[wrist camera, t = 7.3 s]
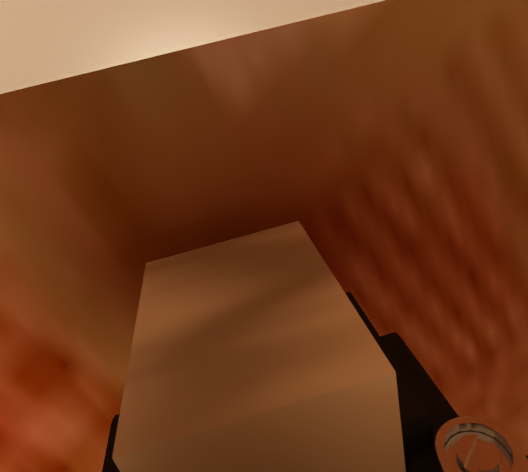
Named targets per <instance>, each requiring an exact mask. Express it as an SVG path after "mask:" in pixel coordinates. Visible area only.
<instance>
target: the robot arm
mask: <svg viewBox="0 0 528 472" xmlns="http://www.w3.org/2000/svg"><path fill="white" fill-rule="evenodd" d="M345 294H346V295H347V297H348V298H349V300H350V302H351V303H352V305H353V306H354V308H355V309H356V311H357V312H358V314H359V316H360V317H361V319H362V320H363V322H364V323H365V325H366V326H367V328H368V330H369V331H370V333H371V334H372V336H373V337H374V339H375V341H376V342H377V344H378V345H379V347H380V348H381V350H382V351H383V353H384V355H385V356H386V358H387V359H388V361H389V362H390V364H391V365H392V367H393V369H394V370H395V372H396V380H397V390H398V400H399V410H400V419H401V429H402V439H403V449H404V458H405V468H406V472H528V456H526V455H525V454H524V452H523V450H522V449H521V447H520V445H519V444H518V443H517V441H516V440H515V439H514V438H513V436H512V435H511V434H510V433H509V432H508V431H506V430H505V429H504V428H502V427H501V426H500V425H498V424H496V423H494V422H492V421H489V420H487V419H483V418H479V417H475V416H461V417H459V416H458V415H457V414H456V412H455V411H454V409H453V408H452V407H451V405H450V404H449V403H448V401H447V400H446V399H445V397H444V396H443V394H442V393H441V392H440V390H439V389H438V388H437V386H436V385H435V384H434V382H433V381H432V379H431V378H430V377H429V375H428V374H427V373H426V371H425V370H424V369H423V367H422V366H421V364H420V363H419V362H418V360H417V359H416V358H415V356H414V355H413V354H412V352H411V351H410V349H409V348H408V347H407V345H406V344H405V343H404V341H403V340H402V339H401V337H400V336H399V335H398V334H397V333H395V332H394V333H391V334H387V335H384V336H381V337H380V336H379V334H378V333H377V331H376V330H375V328H374V327H373V325H372V324H371V322H370V321H369V319H368V318H367V316H366V315H365V313H364V312H363V310H362V309H361V307H360V306H359V304H358V303H357V301H356V300H355V298H354V297H353V295H352V294H351V293H350V292H346V293H345ZM119 415H120V414H119ZM119 415H115V417H114V418H113V421H112V424H111V428H110V434H109V439H108V444H107V449H106V455H105V460H104V465H103V470H102V472H120V471H119V469H118V467H117V466H116V464H115V462H114V461H113V459H112V455H113V450H114V444H115V438H116V432H117V427H118V421H119Z"/></svg>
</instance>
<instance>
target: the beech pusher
mask: <svg viewBox="0 0 528 472" xmlns="http://www.w3.org/2000/svg"><path fill="white" fill-rule="evenodd" d="M112 459H113V461H114V462H115V464H116V466H117V467H118V469H119V471H120V472H406V468H405V458H404V449H403V439H402V429H401V419H400V410H399V400H398V390H397V380H396V372H395V370H394V369H393V367H392V365H391V364H390V362H389V361H388V359H387V358H386V356H385V355H384V353H383V351H382V350H381V348H380V347H379V345H378V344H377V342H376V341H375V339H374V337H373V336H372V334H371V333H370V331H369V330H368V328H367V326H366V325H365V323H364V322H363V320H362V319H361V317H360V316H359V314H358V312H357V311H356V309H355V308H354V306H353V305H352V303H351V302H350V300H349V298H348V297H347V295H346V294H345V292H344V291H343V289H342V288H341V286H340V284H339V283H338V281H337V280H336V278H335V277H334V275H333V274H332V272H331V270H330V269H329V267H328V266H327V264H326V263H325V261H324V260H323V258H322V256H321V255H320V253H319V252H318V250H317V249H316V247H315V245H314V244H313V242H312V241H311V239H310V238H309V236H308V235H307V233H306V231H305V230H304V228H303V227H302V225H301V224H300V222H299V221H296V222H292V223H289V224H285V225H281V226H278V227H274V228H271V229H267V230H263V231H260V232H256V233H253V234H249V235H245V236H242V237H238V238H234V239H231V240H227V241H224V242H220V243H216V244H213V245H209V246H206V247H202V248H198V249H195V250H191V251H188V252H184V253H180V254H177V255H173V256H169V257H166V258H162V259H159V260H155V261H151V262H148V263H146V266H145V271H144V277H143V283H142V289H141V294H140V300H139V306H138V312H137V317H136V323H135V329H134V335H133V340H132V346H131V352H130V358H129V363H128V369H127V375H126V381H125V386H124V392H123V398H122V404H121V409H120V415H119V421H118V427H117V432H116V438H115V444H114V450H113V455H112Z"/></svg>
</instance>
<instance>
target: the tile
mask: <svg viewBox="0 0 528 472" xmlns="http://www.w3.org/2000/svg"><path fill="white" fill-rule="evenodd" d="M381 1H385V0H0V94H2V93H6V92H10V91H15V90H19V89H23V88H27V87H31V86H35V85H39V84H43V83H47V82H52V81H56V80H60V79H64V78H68V77H72V76H76V75H80V74H84V73H89V72H93V71H97V70H101V69H105V68H109V67H113V66H117V65H121V64H126V63H130V62H134V61H138V60H142V59H146V58H150V57H154V56H159V55H163V54H167V53H171V52H175V51H179V50H183V49H187V48H191V47H196V46H200V45H204V44H208V43H212V42H216V41H220V40H224V39H228V38H233V37H237V36H241V35H245V34H249V33H253V32H257V31H261V30H265V29H270V28H274V27H278V26H282V25H286V24H290V23H294V22H298V21H302V20H307V19H311V18H315V17H319V16H323V15H327V14H331V13H335V12H339V11H344V10H348V9H352V8H356V7H360V6H364V5H368V4H372V3H377V2H381Z"/></svg>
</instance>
